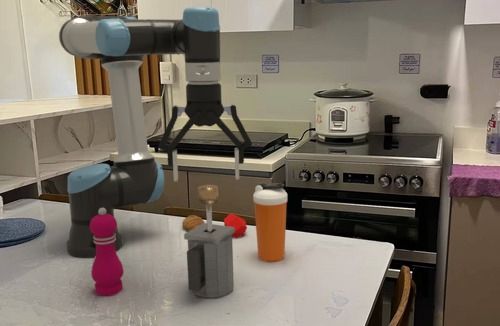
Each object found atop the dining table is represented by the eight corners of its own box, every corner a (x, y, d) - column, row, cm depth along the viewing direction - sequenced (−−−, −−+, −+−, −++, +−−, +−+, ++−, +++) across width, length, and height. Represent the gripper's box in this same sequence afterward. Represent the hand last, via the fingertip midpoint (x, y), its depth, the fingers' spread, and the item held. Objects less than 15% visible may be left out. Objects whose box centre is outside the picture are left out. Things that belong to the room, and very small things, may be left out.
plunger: (189, 274, 120) (185, 189, 116) (205, 263, 126) (202, 182, 122) (217, 279, 117) (214, 192, 112) (232, 267, 123) (229, 184, 119)
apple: (252, 219, 155) (237, 204, 160) (233, 228, 151) (218, 212, 157) (251, 236, 159) (236, 221, 164) (233, 245, 155) (218, 229, 161)
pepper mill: (108, 299, 118) (101, 214, 114) (86, 292, 122) (78, 209, 118) (131, 287, 124) (125, 205, 120) (109, 280, 128) (103, 201, 124)
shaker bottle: (285, 264, 135) (284, 189, 131) (251, 262, 137) (249, 188, 133) (290, 251, 144) (289, 180, 140) (258, 249, 145) (256, 179, 141)
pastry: (210, 233, 160) (209, 221, 160) (189, 237, 158) (188, 224, 157) (200, 224, 169) (199, 213, 168) (180, 227, 166) (179, 216, 165)
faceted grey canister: (174, 299, 117) (171, 239, 114) (204, 276, 129) (202, 221, 126) (213, 307, 113) (211, 245, 110) (241, 283, 124) (239, 226, 122)
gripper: (142, 85, 108) (148, 185, 113) (263, 82, 110) (264, 181, 114) (146, 82, 115) (152, 176, 120) (259, 80, 117) (260, 173, 122)
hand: (206, 179), depth 117 cm, fingers open, 13 cm apart
